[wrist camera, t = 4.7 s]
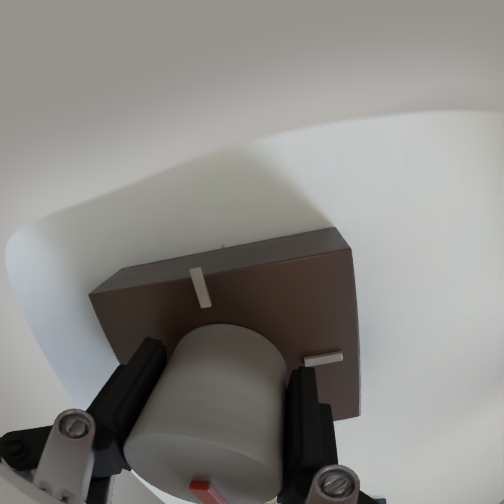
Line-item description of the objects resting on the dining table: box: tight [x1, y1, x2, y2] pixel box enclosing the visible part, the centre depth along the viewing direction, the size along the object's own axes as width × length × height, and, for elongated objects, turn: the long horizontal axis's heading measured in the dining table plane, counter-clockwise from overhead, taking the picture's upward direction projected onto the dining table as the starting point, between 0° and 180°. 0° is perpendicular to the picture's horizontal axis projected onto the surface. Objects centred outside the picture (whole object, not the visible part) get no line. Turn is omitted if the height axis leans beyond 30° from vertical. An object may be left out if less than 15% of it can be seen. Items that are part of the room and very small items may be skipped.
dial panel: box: [88, 227, 361, 421], centre depth 12 cm, size 10×9×3 cm
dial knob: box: [123, 324, 287, 504], centre depth 8 cm, size 4×4×5 cm
